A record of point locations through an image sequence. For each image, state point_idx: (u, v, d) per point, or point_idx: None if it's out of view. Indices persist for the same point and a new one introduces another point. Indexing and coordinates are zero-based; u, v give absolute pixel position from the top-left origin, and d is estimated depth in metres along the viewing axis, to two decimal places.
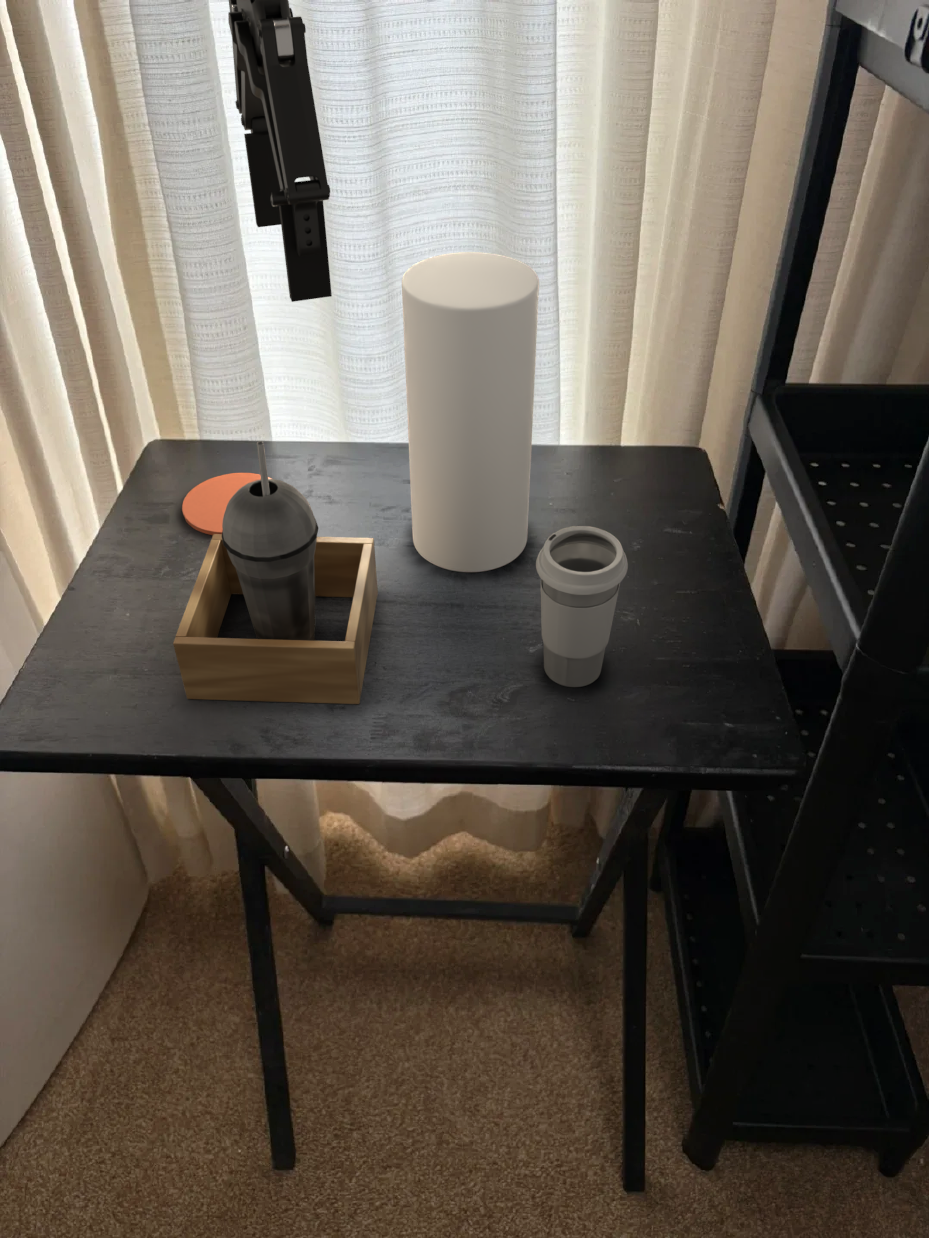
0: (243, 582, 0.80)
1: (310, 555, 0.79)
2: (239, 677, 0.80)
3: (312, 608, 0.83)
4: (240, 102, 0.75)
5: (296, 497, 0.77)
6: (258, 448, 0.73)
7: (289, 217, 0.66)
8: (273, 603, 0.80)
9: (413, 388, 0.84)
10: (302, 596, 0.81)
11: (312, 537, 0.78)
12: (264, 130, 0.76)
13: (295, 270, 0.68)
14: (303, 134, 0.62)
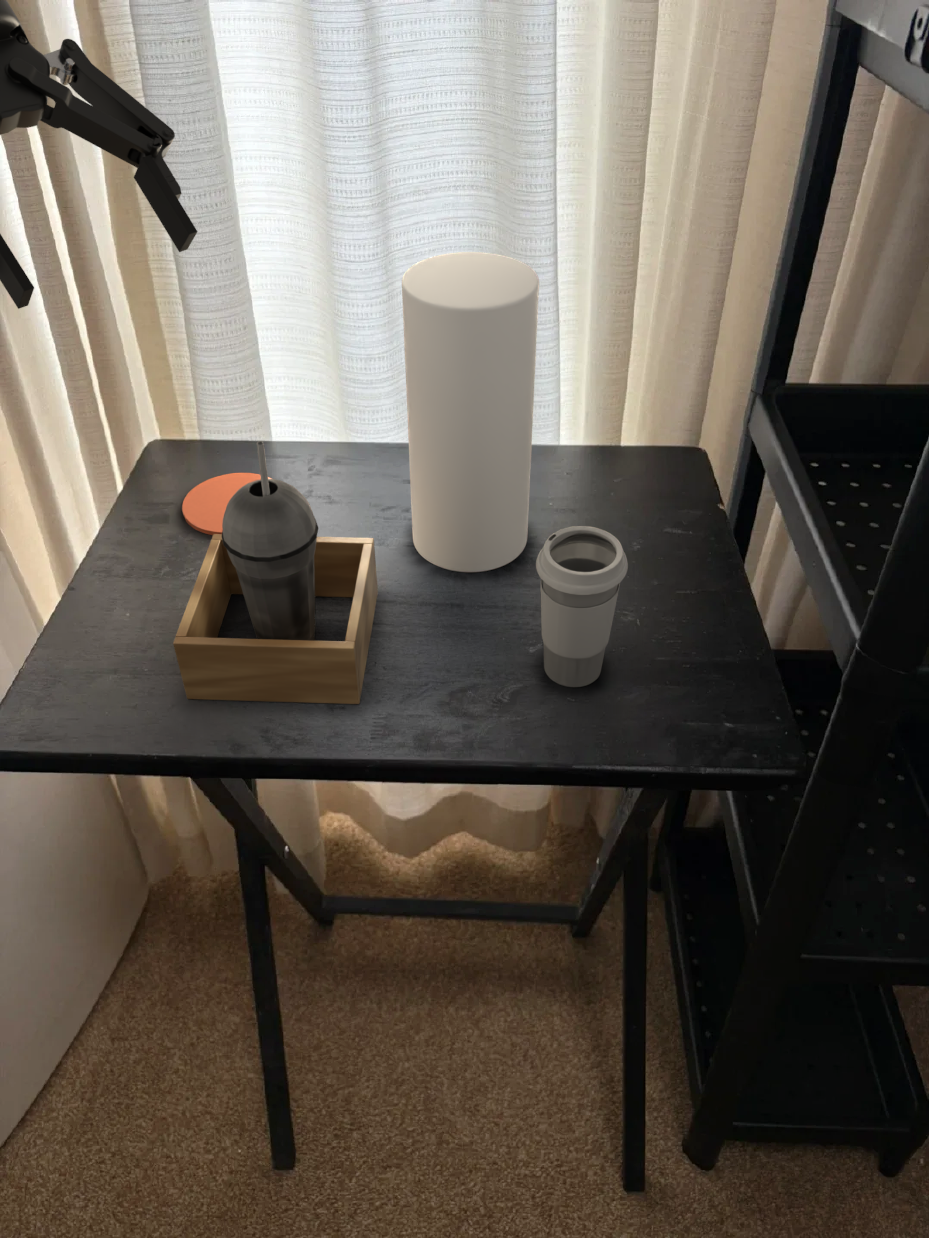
0: (243, 582, 0.80)
1: (310, 555, 0.79)
2: (239, 677, 0.80)
3: (312, 608, 0.83)
4: None
5: (296, 497, 0.77)
6: (258, 448, 0.73)
7: None
8: (273, 603, 0.80)
9: (413, 388, 0.84)
10: (302, 596, 0.81)
11: (312, 537, 0.78)
12: None
13: None
14: None
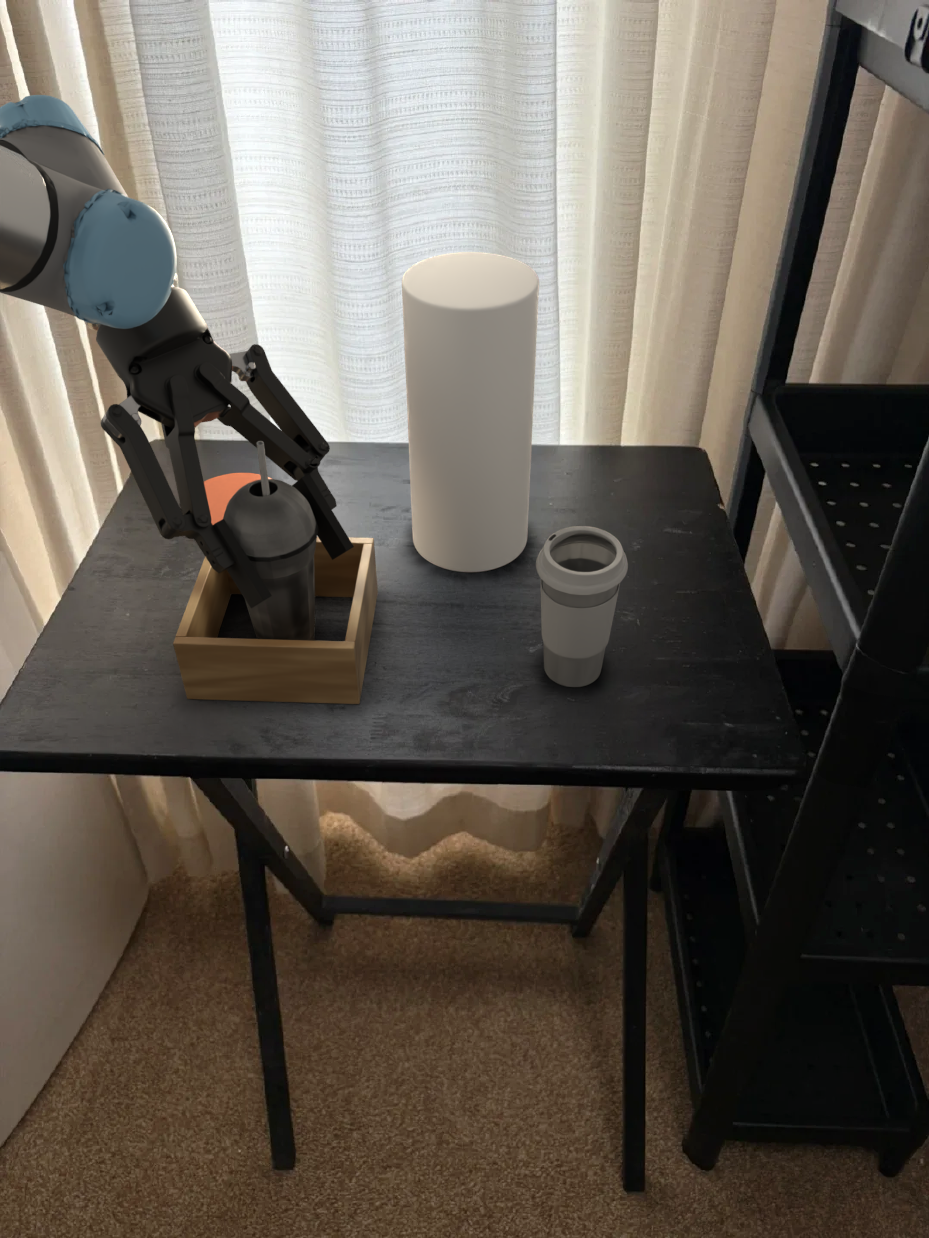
0: None
1: (310, 555, 0.79)
2: (239, 677, 0.80)
3: (312, 608, 0.83)
4: (180, 510, 0.74)
5: (296, 497, 0.77)
6: (258, 448, 0.73)
7: None
8: (273, 603, 0.80)
9: (413, 388, 0.84)
10: (302, 596, 0.81)
11: (312, 537, 0.78)
12: None
13: None
14: None
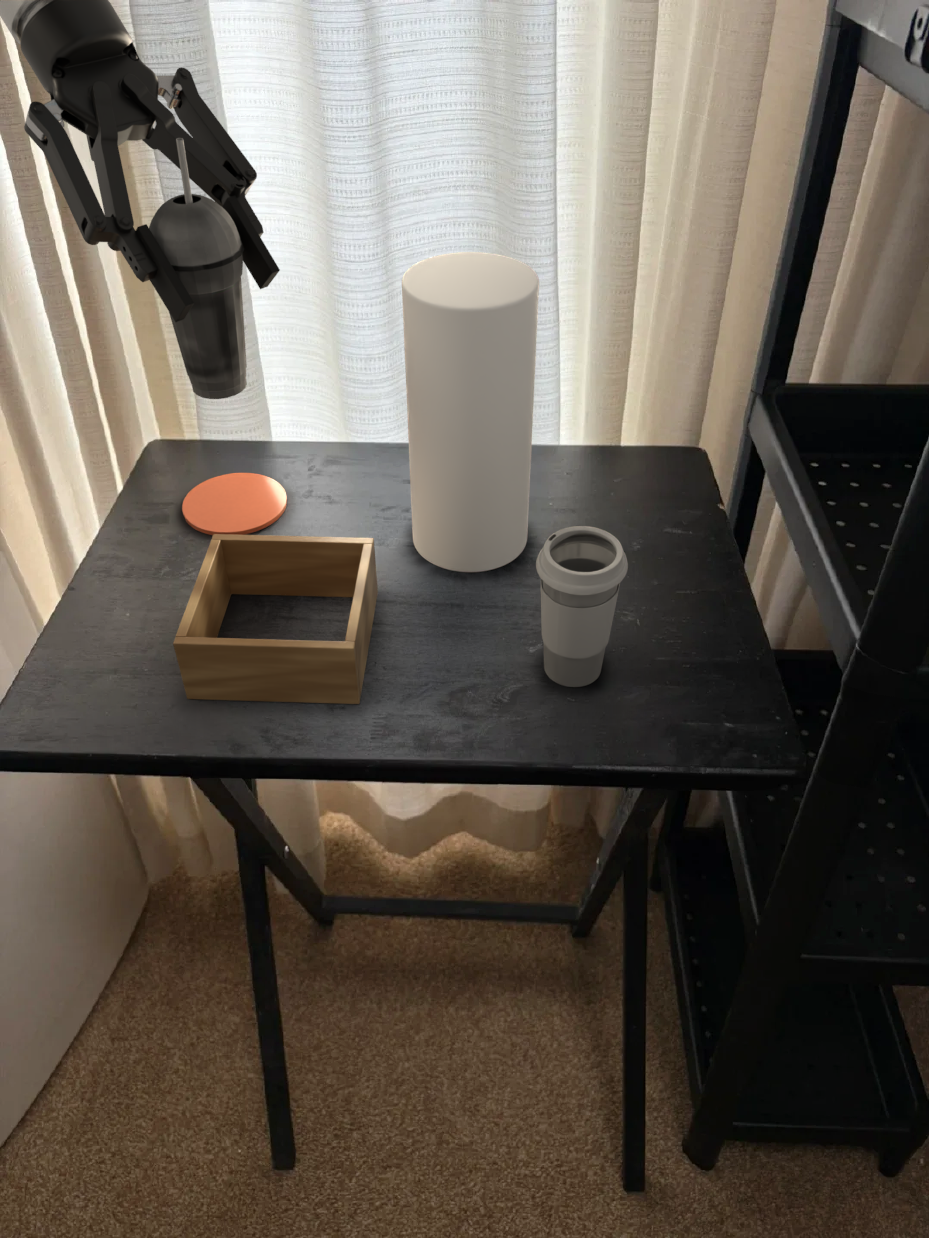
0: None
1: (235, 274, 0.80)
2: (239, 677, 0.80)
3: (241, 341, 0.84)
4: (101, 210, 0.75)
5: (220, 211, 0.78)
6: (178, 145, 0.74)
7: None
8: (200, 325, 0.81)
9: (413, 388, 0.84)
10: (229, 321, 0.82)
11: (236, 253, 0.79)
12: None
13: None
14: None
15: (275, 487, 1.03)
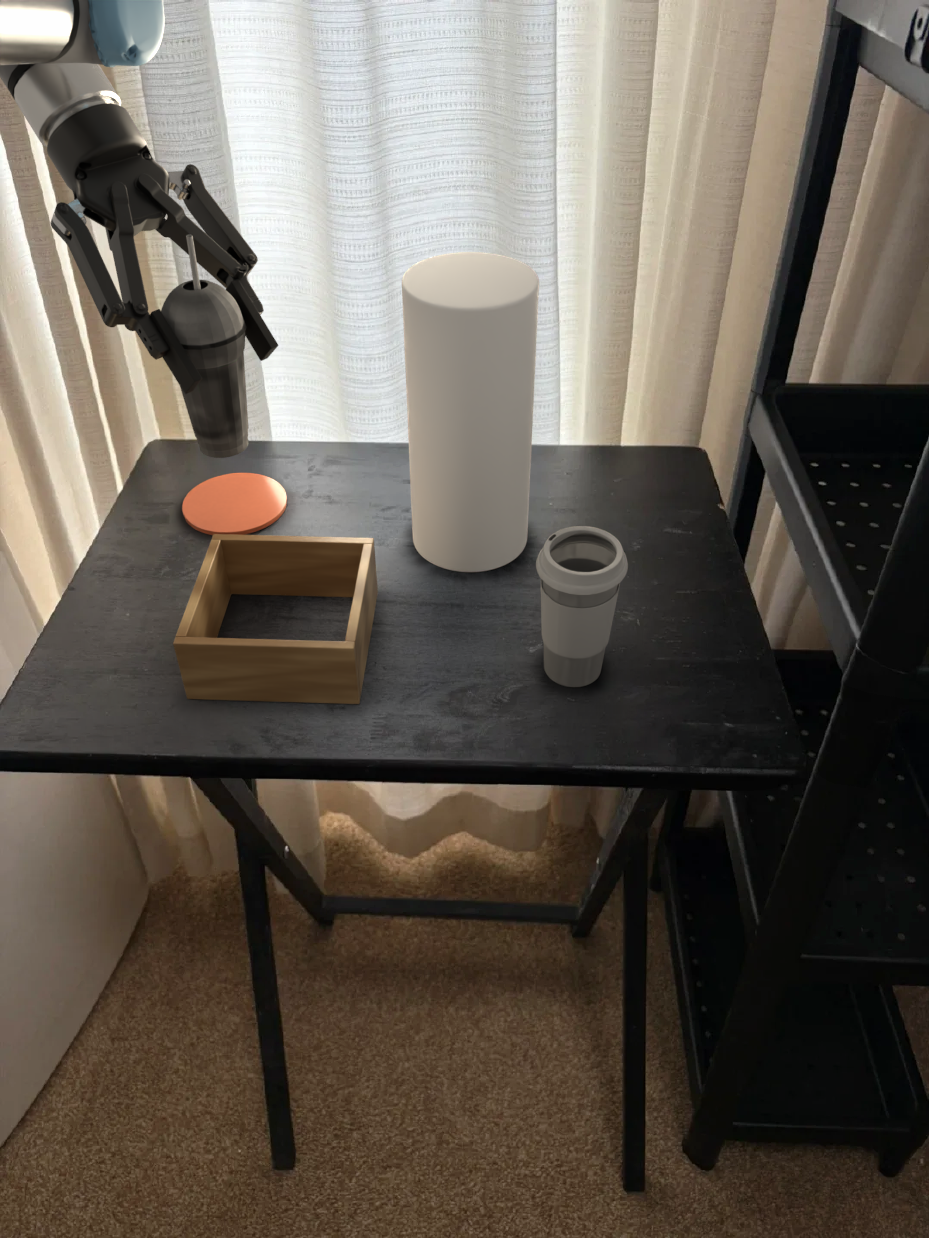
0: None
1: (238, 350, 0.89)
2: (239, 677, 0.80)
3: (243, 406, 0.94)
4: (120, 298, 0.84)
5: (225, 294, 0.88)
6: (187, 241, 0.83)
7: None
8: (206, 395, 0.90)
9: (413, 388, 0.84)
10: (233, 391, 0.91)
11: (239, 332, 0.88)
12: None
13: None
14: None
15: (275, 487, 1.03)
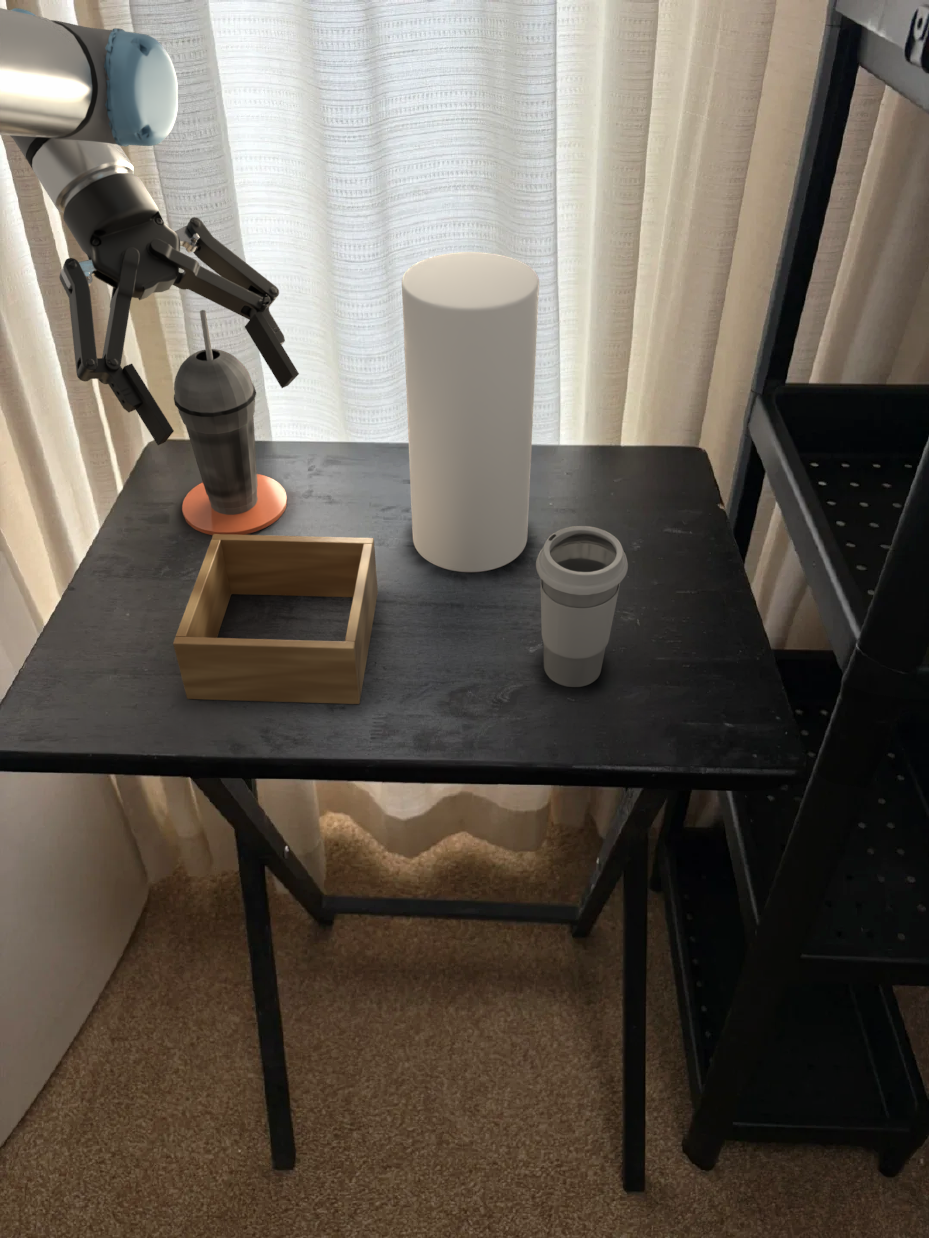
0: (192, 439, 0.94)
1: (248, 415, 0.93)
2: (239, 677, 0.80)
3: (253, 466, 0.98)
4: (96, 355, 0.86)
5: (236, 363, 0.92)
6: (201, 316, 0.87)
7: None
8: (218, 457, 0.95)
9: (413, 388, 0.84)
10: (243, 453, 0.95)
11: (250, 399, 0.93)
12: None
13: None
14: None
15: (275, 487, 1.03)
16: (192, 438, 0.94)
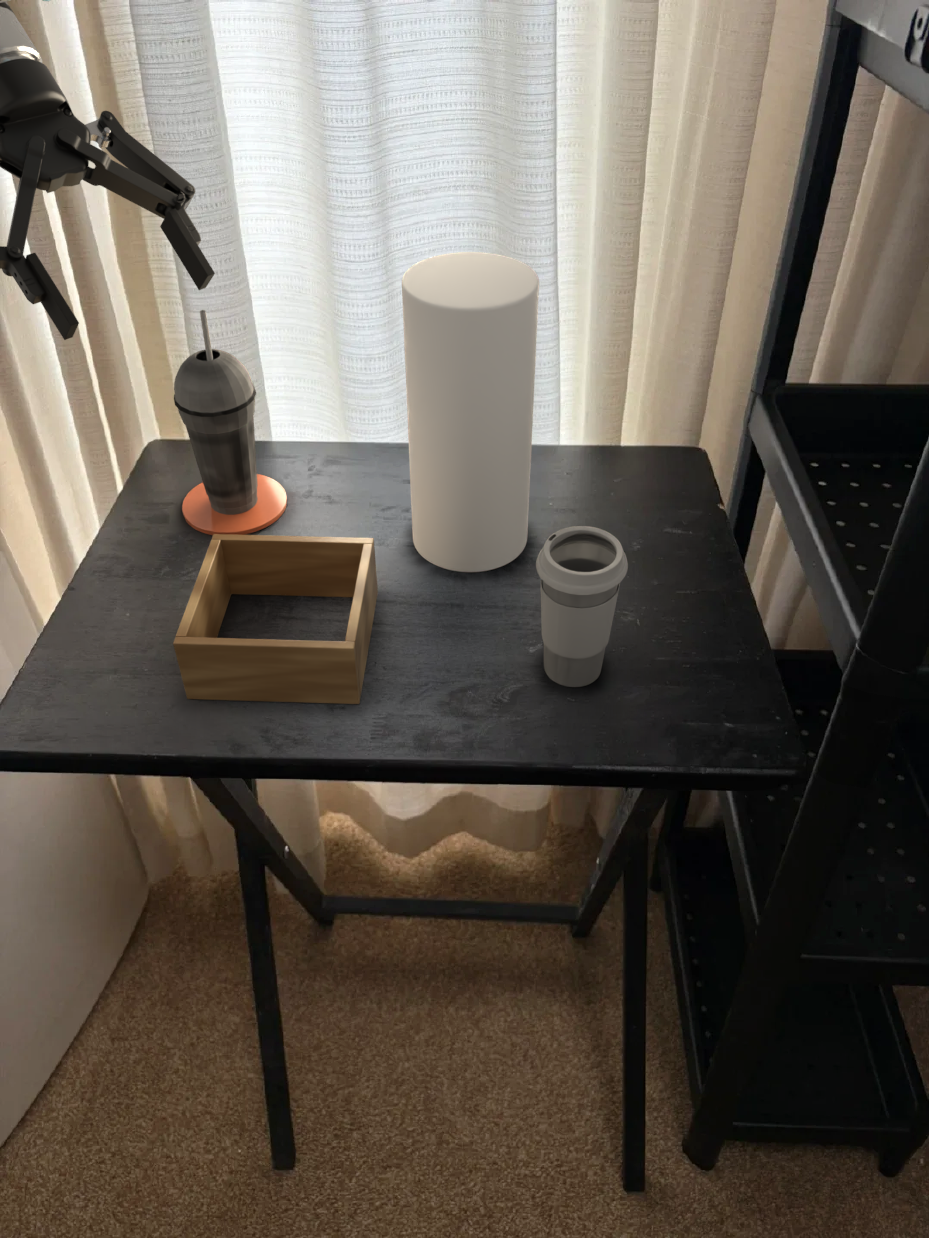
0: (192, 439, 0.94)
1: (248, 415, 0.93)
2: (239, 677, 0.80)
3: (253, 466, 0.98)
4: None
5: (236, 363, 0.92)
6: (201, 316, 0.87)
7: None
8: (218, 457, 0.95)
9: (413, 388, 0.84)
10: (243, 453, 0.95)
11: (250, 399, 0.93)
12: None
13: None
14: None
15: (275, 487, 1.03)
16: (192, 438, 0.94)
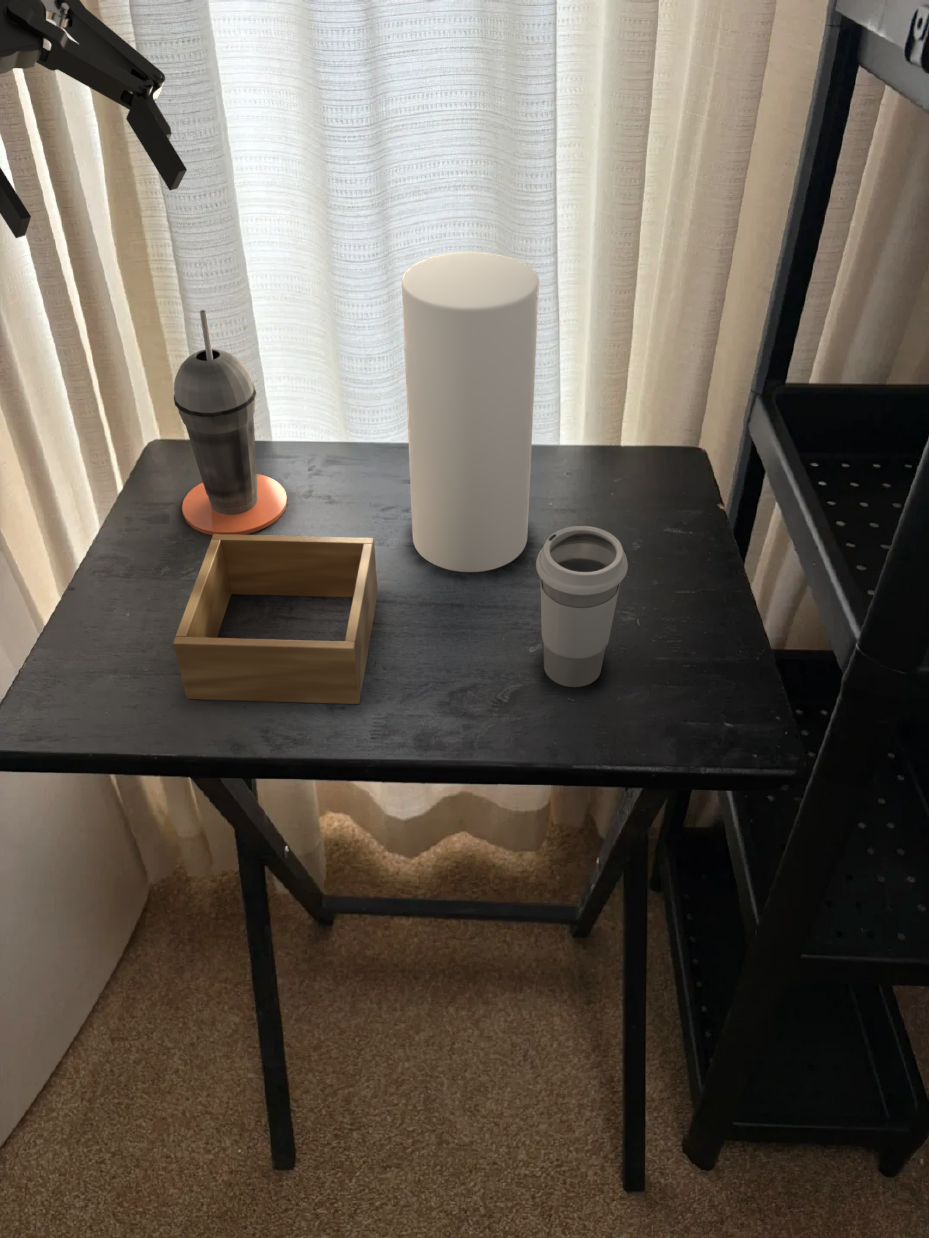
0: (192, 439, 0.94)
1: (248, 415, 0.93)
2: (239, 677, 0.80)
3: (253, 466, 0.98)
4: None
5: (236, 363, 0.92)
6: (201, 316, 0.87)
7: None
8: (218, 457, 0.95)
9: (413, 388, 0.84)
10: (243, 453, 0.95)
11: (250, 399, 0.93)
12: None
13: None
14: None
15: (275, 487, 1.03)
16: (192, 438, 0.94)
